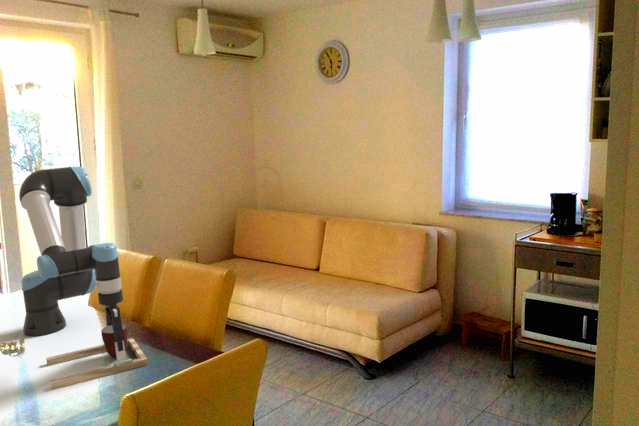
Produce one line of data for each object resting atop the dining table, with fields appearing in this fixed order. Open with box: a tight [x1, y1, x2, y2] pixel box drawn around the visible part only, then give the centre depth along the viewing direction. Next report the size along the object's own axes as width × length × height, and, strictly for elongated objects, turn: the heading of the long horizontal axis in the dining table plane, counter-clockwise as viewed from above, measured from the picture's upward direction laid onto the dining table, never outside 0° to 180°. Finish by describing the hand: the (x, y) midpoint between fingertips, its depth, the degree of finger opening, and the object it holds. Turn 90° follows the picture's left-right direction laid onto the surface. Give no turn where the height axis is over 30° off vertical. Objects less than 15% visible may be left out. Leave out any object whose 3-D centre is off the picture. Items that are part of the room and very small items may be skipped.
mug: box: [101, 323, 129, 360], centre depth 187 cm, size 11×8×10 cm
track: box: [45, 337, 149, 390], centre depth 184 cm, size 23×28×3 cm
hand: (118, 353), depth 187 cm, fingers open, 12 cm apart
